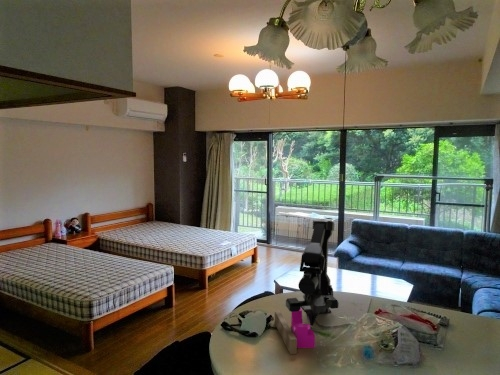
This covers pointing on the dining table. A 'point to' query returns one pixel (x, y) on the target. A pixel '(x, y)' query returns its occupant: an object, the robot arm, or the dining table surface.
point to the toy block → (302, 331)
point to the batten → (286, 333)
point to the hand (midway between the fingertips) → (311, 325)
